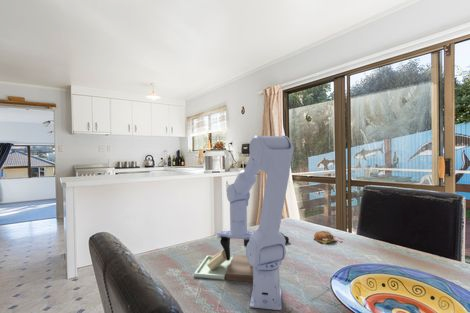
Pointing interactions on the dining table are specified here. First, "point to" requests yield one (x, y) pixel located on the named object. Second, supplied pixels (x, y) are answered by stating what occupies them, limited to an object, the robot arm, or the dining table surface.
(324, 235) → the hamburger
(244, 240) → the black toy gun
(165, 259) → the dining table surface
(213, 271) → the green tray
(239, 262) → the walnut board
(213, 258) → the oak tile
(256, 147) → the robot arm
